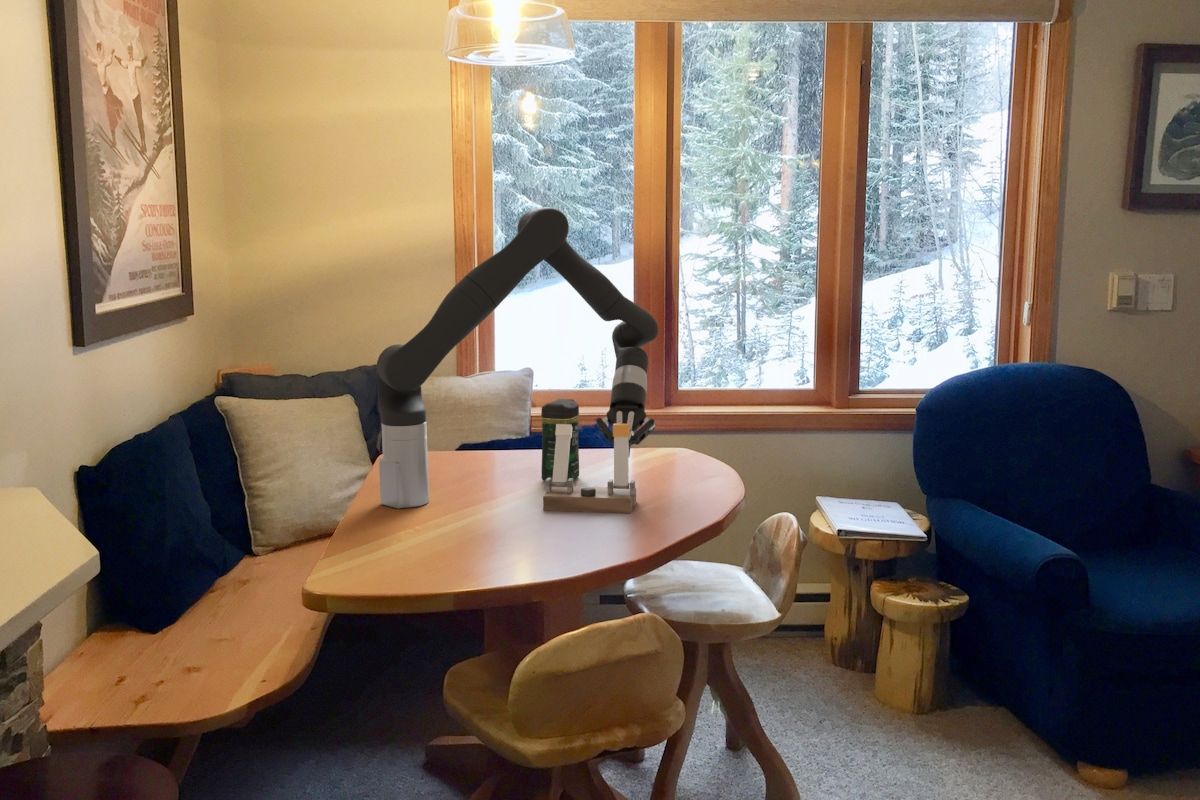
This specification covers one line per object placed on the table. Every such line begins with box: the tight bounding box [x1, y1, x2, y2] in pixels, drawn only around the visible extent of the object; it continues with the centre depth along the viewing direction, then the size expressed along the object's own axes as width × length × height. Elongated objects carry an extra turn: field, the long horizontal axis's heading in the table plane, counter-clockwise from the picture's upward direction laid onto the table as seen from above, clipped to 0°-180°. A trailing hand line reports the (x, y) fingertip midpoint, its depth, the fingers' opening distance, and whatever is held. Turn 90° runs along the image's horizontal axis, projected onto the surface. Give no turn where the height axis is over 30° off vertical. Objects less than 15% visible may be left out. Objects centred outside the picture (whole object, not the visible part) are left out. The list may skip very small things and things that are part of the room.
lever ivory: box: [551, 424, 573, 487], centre depth 220 cm, size 2×3×13 cm, turn 81°
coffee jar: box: [540, 398, 580, 482], centre depth 239 cm, size 10×8×19 cm
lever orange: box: [612, 423, 630, 489], centre depth 215 cm, size 2×3×13 cm, turn 81°
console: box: [542, 478, 637, 514], centre depth 217 cm, size 9×18×6 cm, turn 81°
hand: (622, 458), depth 216 cm, fingers closed
